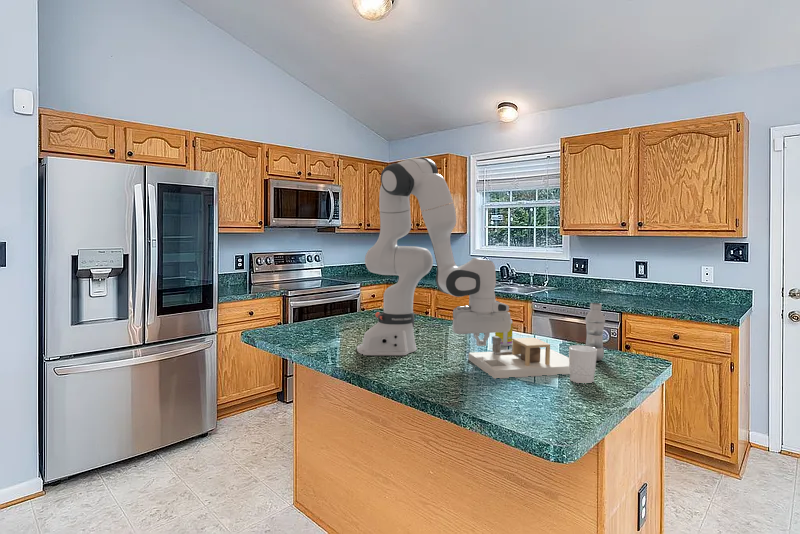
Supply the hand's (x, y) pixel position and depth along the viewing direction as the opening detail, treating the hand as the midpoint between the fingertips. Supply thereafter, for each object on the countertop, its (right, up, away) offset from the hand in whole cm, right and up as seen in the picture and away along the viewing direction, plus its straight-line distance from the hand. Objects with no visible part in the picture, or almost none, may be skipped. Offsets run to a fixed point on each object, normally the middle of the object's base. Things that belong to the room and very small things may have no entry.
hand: (481, 345), depth 163 cm
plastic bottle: (+40, -6, +3) cm, 41 cm away
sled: (+11, -3, -3) cm, 12 cm away
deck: (+14, -6, -5) cm, 16 cm away
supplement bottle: (+13, -4, +26) cm, 30 cm away
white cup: (+27, -8, -20) cm, 34 cm away
